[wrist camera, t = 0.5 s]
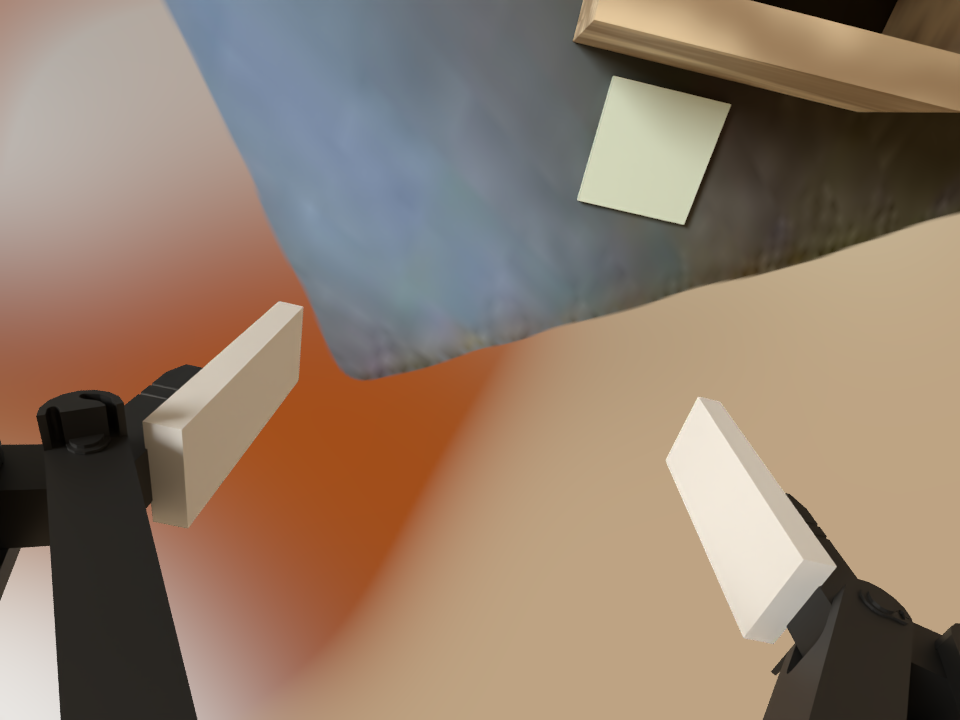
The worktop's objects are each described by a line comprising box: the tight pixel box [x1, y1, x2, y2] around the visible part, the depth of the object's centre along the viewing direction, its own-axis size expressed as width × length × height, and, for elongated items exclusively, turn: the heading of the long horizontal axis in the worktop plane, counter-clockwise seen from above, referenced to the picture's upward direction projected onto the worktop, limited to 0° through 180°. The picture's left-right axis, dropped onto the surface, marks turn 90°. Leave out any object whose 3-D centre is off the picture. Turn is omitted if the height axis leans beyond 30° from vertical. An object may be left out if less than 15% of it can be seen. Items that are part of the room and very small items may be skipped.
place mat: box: [577, 76, 731, 225], centre depth 39 cm, size 9×9×1 cm
